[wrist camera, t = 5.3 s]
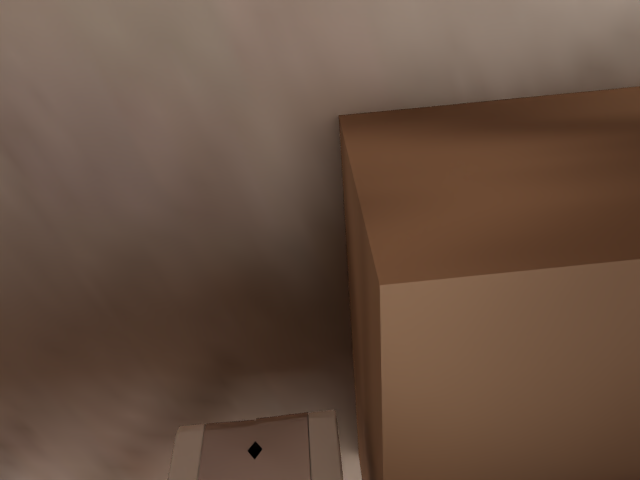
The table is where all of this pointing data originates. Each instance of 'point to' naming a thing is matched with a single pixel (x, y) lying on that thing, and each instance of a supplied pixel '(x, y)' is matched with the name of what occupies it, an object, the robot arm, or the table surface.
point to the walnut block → (496, 287)
